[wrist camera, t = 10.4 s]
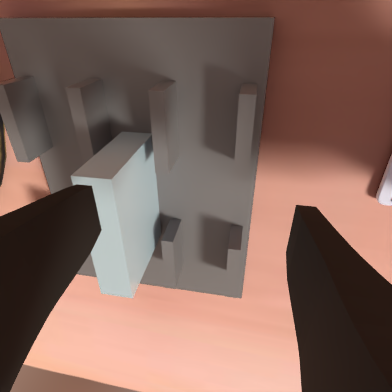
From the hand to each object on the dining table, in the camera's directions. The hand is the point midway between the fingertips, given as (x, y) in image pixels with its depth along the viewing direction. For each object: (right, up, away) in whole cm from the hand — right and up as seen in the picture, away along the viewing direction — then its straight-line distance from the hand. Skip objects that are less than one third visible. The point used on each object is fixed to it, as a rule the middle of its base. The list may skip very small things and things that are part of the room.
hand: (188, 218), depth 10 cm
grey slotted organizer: (-3, +2, +11) cm, 11 cm away
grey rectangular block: (-3, +1, +10) cm, 11 cm away
